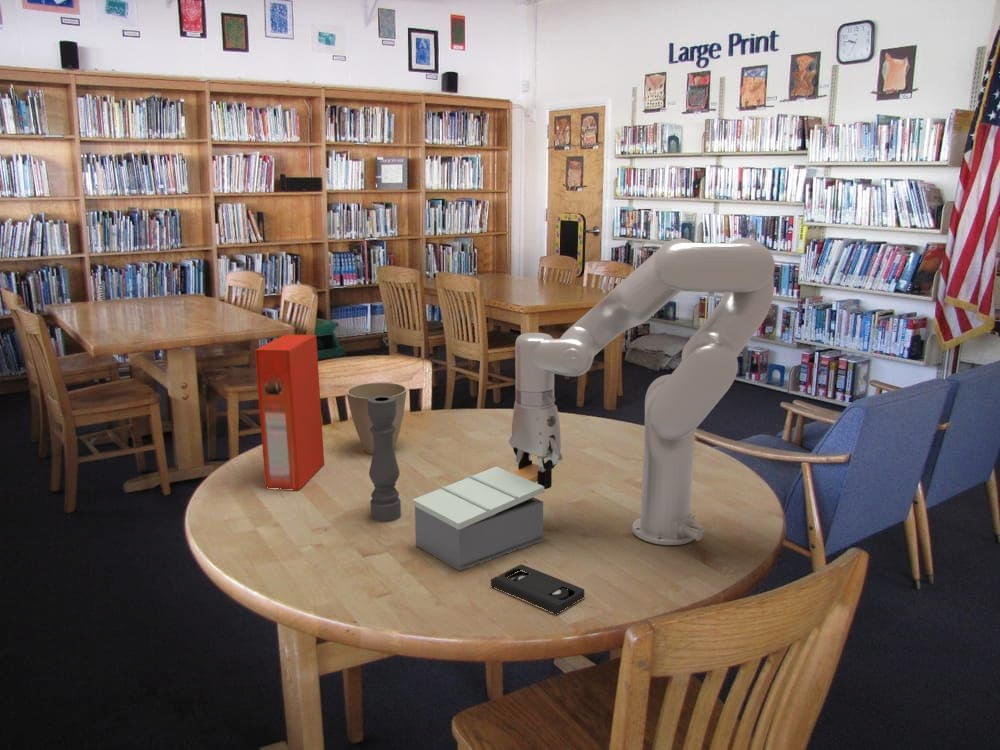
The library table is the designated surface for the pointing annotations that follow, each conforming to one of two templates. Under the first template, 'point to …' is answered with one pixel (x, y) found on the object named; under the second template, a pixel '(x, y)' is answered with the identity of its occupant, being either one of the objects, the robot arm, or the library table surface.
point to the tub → (481, 534)
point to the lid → (481, 495)
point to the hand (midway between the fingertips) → (534, 483)
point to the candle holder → (383, 460)
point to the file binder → (290, 410)
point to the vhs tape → (538, 589)
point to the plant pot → (360, 409)
